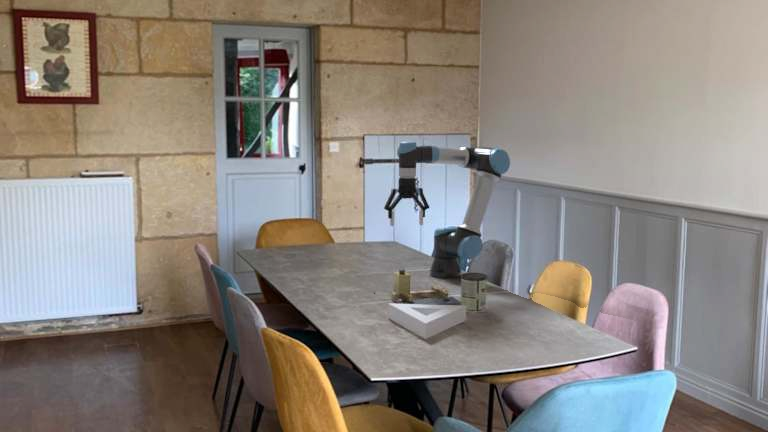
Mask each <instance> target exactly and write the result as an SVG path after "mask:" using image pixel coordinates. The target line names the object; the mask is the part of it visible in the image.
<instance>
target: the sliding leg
mask: <svg viewBox="0 0 768 432" xmlns="http://www.w3.org/2000/svg"><path fill="white" fill-rule="evenodd" d="M392 290H393V291H394V292H396V293H397V294H404V295H405V296H406V297H408V298H409V302H411V299H412V296H411V295H410V291H411V274H410V273H408V272H407V271H406V270H405V268H404V269H403V268H402V269H399V270H398V271H394V272H393V289H392Z"/></svg>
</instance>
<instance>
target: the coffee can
mask: <svg viewBox="0 0 768 432" xmlns="http://www.w3.org/2000/svg"><path fill="white" fill-rule="evenodd" d="M460 277H461V279H460V280H461V284H460V302H461V305H462V306H466V313H474V314H477V313H478V314H479V313H483V312H485V311H486V310H487V309H486V308H487V278H488V274H485V273H481V272H465V273H461V276H460Z"/></svg>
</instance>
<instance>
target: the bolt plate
mask: <svg viewBox="0 0 768 432" xmlns="http://www.w3.org/2000/svg"><path fill="white" fill-rule="evenodd" d="M395 304H428V305H461V300H458V299H457V298H455V297H453V296H452V295H448V300H446V297H440V298H425V299H411V302H409V300H402V299H399V300H396V301H395Z"/></svg>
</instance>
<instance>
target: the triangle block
mask: <svg viewBox="0 0 768 432" xmlns="http://www.w3.org/2000/svg"><path fill="white" fill-rule="evenodd" d="M387 319H390V320H391V321H393V322H395V323H396V324H397V325H400V326H401V327H402V328H405V329H406V330H408V331H410V332H412V333H414V334H416V335H417V336H419V337H421V338H422V339H424V340H427V339H429V338H431V337H433V336H435V335H437V334H440V333H442V332H444V331H446V330H448V329H450V328H452V327H454V326H456V325H459V324H460V323H463V322H465V321H467V312H466V306H462V305H428V304H396V303H394V302H393V303H391V302H389V303H387Z"/></svg>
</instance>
